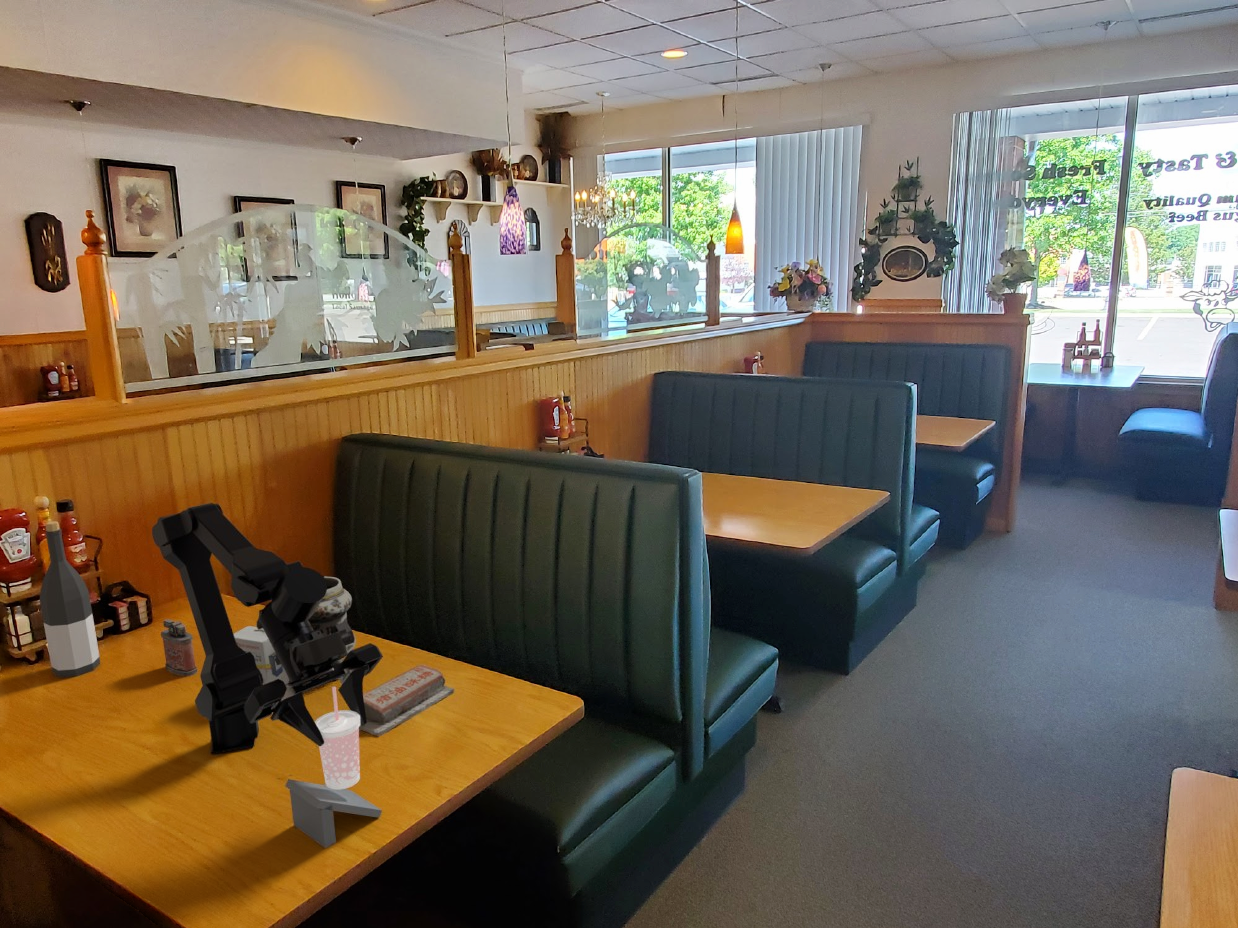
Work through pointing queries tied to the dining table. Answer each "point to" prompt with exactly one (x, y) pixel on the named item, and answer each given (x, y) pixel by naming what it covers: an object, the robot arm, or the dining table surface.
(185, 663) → the lighter
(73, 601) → the wine bottle
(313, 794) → the ramp
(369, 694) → the packaged product
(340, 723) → the beverage cup
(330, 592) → the apothecary jar
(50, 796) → the dining table surface
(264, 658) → the ink box
